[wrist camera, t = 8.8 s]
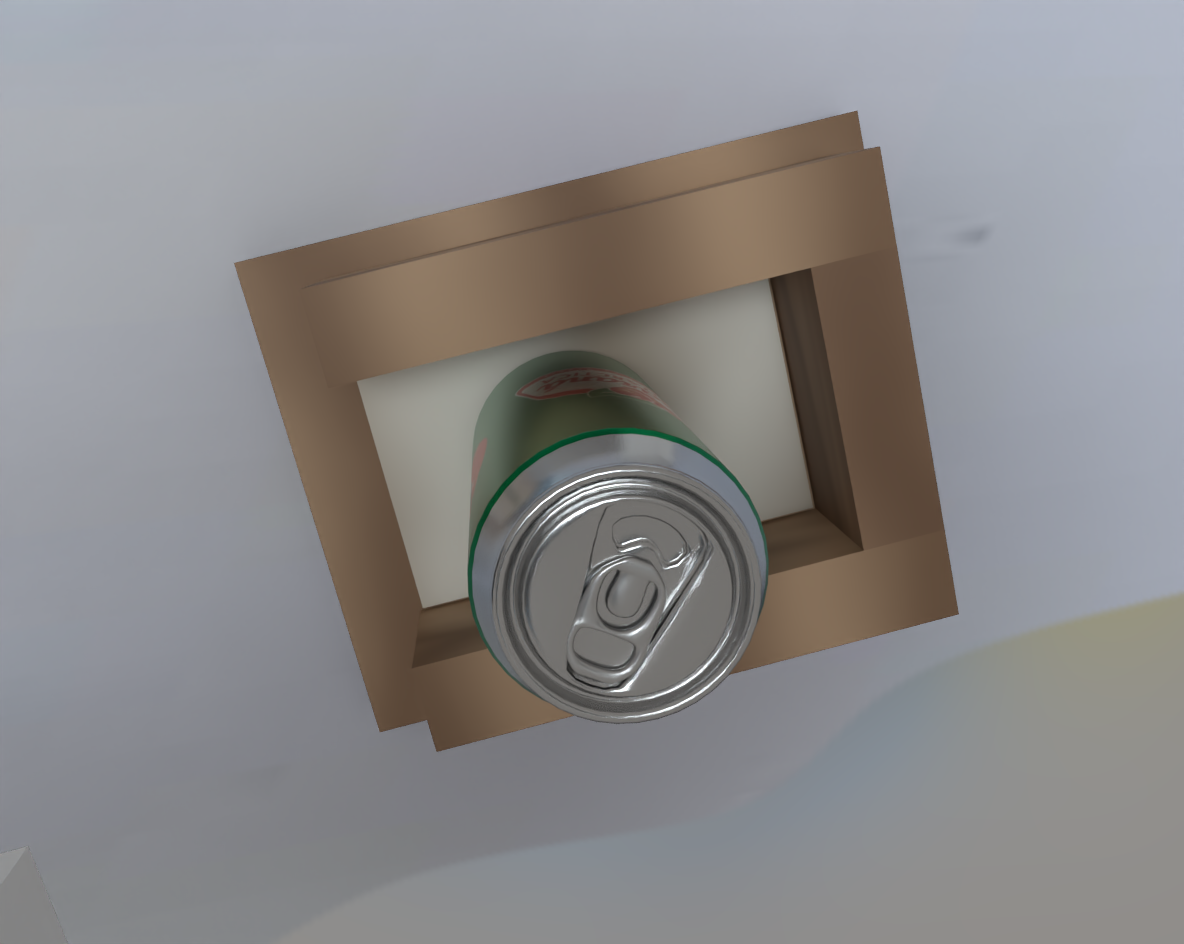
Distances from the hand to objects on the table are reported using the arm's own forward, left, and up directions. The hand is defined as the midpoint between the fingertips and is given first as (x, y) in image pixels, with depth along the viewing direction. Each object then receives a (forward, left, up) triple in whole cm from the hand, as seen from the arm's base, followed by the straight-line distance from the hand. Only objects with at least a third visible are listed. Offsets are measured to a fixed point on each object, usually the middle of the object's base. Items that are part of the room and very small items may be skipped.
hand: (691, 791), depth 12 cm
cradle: (+1, 0, -20) cm, 20 cm away
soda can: (0, 0, -18) cm, 18 cm away
